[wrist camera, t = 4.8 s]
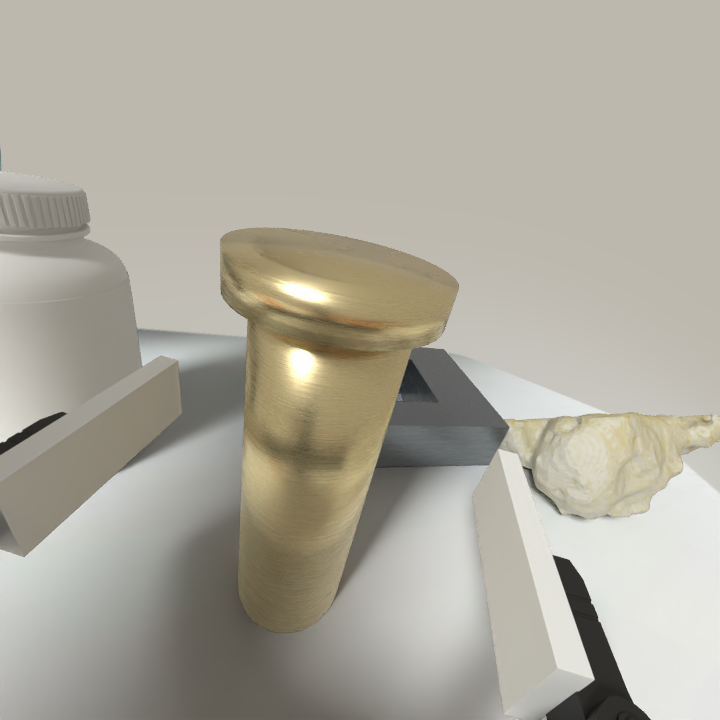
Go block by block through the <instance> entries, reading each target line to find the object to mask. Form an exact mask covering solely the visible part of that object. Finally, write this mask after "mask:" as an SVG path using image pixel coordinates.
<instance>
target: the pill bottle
mask: <svg viewBox="0 0 720 720" xmlns="http://www.w3.org/2000/svg"><path fill="white" fill-rule="evenodd" d="M88 222H90V215H89V209H88V203H87V197H86V193H85V192H84V191H83V190H82V189H81V188H80V187H78V186H76V185H73V184H70V183H66V182H62V181H58V180H53V179H48V178H43V177H37V176H31V175H25V174H18V173H11V172H3V171H0V443H1V442H6V440H7V439H8V438H10V437H11V436H13V435H15V434H16V433H18V432H19V433H21V432H22V430H23V429H25V428H26V427H28V426H30V425H32V424H33V423H35V422H37V421H38V420H40V419H43V418H45V417H48V416H51V415H54V414H56V413H59V412H65V413H69V412H71V411H72V410H74V409H76V408H77V407H79V406H80V405H82V404H84V403H85V402H87V401H88V400H90V399H92V398H93V397H95V396H97V395H98V394H100V393H101V392H103V391H105V390H106V389H108V388H109V387H111V386H113V385H114V384H116V383H117V382H119V381H121V380H122V379H124V378H125V377H127V376H129V375H130V374H132V373H134V372H135V371H137V370H138V369H140V368H142V360H141V354H140V347H139V340H138V333H137V327H136V320H135V313H134V306H133V300H132V293H131V286H130V280H129V275H128V272H127V271H126V268H125V266H124V265H123V263H122V261H121V260H120V259H119V258H118V257H117V255H115V254H114V253H113V252H112V251H110V250H109V249H107V248H106V247H104V246H102V245H100V244H98V243H95V242H93V241H90V240H87V239H84V236H86V235H88V234H89V233H90V227H89V226H88V225H87V223H88Z"/></svg>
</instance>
